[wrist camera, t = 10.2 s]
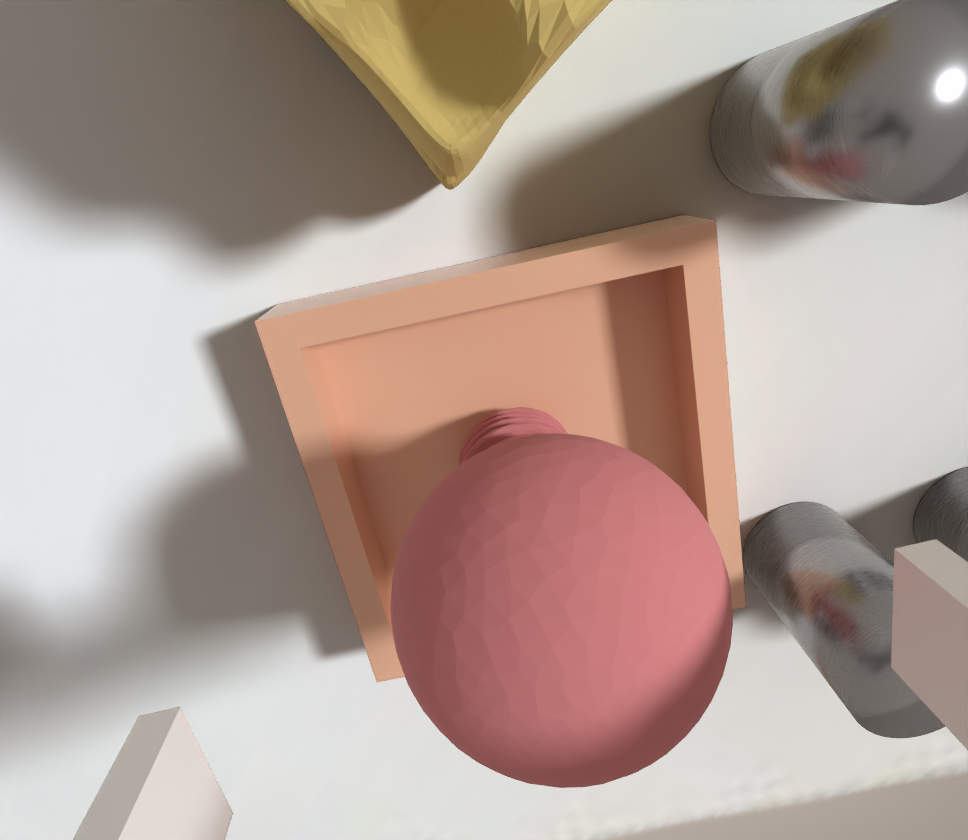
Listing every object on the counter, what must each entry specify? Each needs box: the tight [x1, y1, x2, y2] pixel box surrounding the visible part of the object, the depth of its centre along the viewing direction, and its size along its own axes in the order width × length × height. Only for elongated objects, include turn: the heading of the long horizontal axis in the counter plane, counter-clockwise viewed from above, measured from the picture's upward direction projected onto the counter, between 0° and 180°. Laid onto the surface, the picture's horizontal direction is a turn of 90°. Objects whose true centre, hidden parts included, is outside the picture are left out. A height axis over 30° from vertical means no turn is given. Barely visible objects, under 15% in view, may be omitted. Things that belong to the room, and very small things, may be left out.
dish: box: [254, 215, 746, 682], centre depth 22 cm, size 13×13×3 cm
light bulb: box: [390, 407, 733, 788], centre depth 16 cm, size 7×7×12 cm
